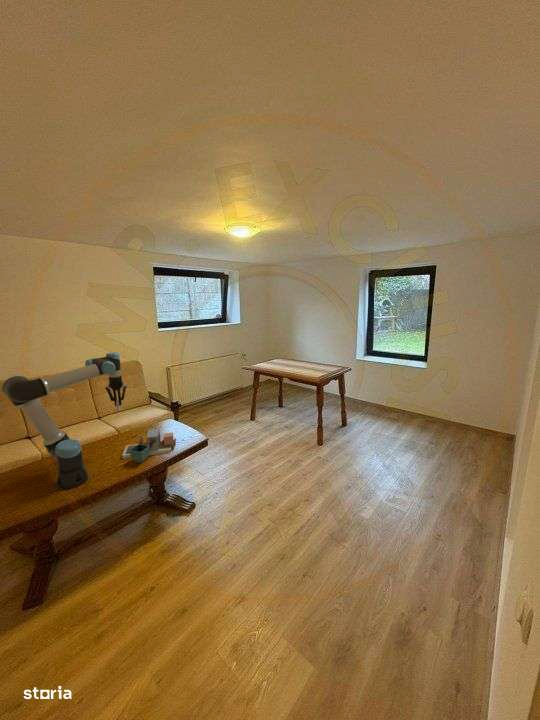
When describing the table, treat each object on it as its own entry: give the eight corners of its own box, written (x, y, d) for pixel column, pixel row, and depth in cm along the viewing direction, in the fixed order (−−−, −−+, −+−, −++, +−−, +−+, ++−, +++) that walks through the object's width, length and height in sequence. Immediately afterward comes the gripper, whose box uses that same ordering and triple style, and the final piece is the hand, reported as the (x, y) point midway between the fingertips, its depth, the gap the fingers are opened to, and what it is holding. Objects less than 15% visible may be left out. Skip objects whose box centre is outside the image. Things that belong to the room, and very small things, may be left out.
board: (122, 458, 190) (122, 455, 190) (126, 448, 204) (126, 445, 203) (170, 452, 198) (170, 449, 198) (171, 443, 212) (171, 439, 211)
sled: (139, 450, 195) (138, 442, 194) (141, 445, 203) (140, 437, 202) (175, 446, 201) (174, 438, 200) (175, 441, 209) (175, 433, 208)
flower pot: (142, 465, 183) (141, 452, 181) (130, 463, 185) (128, 450, 183) (150, 458, 192) (149, 445, 190) (139, 456, 193) (137, 444, 192)
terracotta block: (164, 445, 200) (163, 437, 199) (164, 441, 206) (164, 433, 205) (173, 444, 202) (172, 436, 201) (173, 440, 207) (173, 432, 206)
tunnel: (147, 451, 195) (146, 437, 193) (150, 443, 207) (148, 429, 205) (158, 450, 197) (157, 436, 195) (160, 441, 208) (159, 428, 206)
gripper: (102, 378, 186) (106, 413, 190) (124, 376, 189) (128, 411, 194) (105, 375, 193) (109, 409, 197) (127, 374, 196) (130, 407, 201)
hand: (118, 410), depth 195 cm, fingers closed
